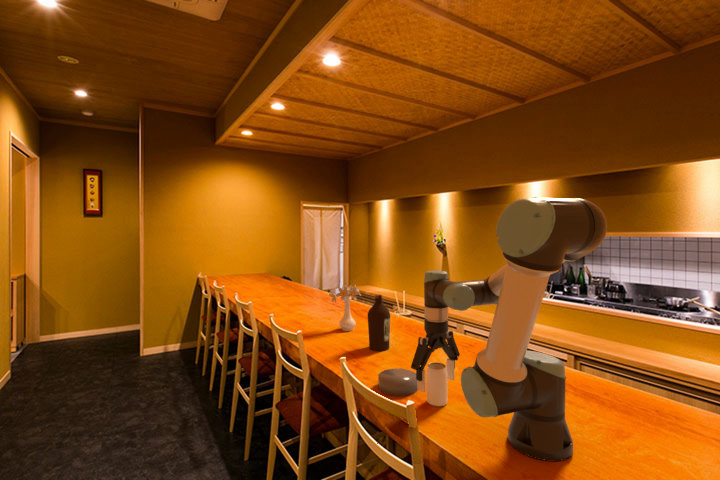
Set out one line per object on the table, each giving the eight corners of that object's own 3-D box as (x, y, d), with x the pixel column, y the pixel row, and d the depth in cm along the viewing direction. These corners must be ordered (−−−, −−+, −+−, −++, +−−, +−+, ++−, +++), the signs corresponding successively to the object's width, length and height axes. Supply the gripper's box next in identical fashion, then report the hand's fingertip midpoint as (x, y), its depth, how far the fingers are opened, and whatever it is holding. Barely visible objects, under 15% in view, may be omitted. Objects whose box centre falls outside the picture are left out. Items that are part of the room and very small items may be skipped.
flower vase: (326, 330, 206) (325, 285, 205) (352, 324, 218) (351, 282, 217) (341, 335, 196) (340, 288, 195) (367, 329, 208) (366, 284, 208)
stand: (418, 397, 124) (418, 385, 124) (376, 394, 126) (376, 383, 126) (418, 380, 138) (418, 369, 138) (380, 378, 140) (380, 367, 140)
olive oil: (364, 350, 173) (363, 296, 172) (372, 343, 182) (372, 292, 182) (386, 352, 169) (385, 297, 168) (393, 345, 178) (392, 293, 177)
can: (432, 408, 116) (432, 370, 116) (423, 399, 123) (423, 363, 122) (451, 405, 118) (450, 368, 118) (441, 396, 124) (441, 361, 124)
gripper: (452, 311, 130) (452, 371, 131) (399, 323, 115) (399, 390, 116) (470, 315, 124) (470, 378, 125) (416, 328, 109) (416, 399, 110)
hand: (436, 384), depth 120 cm, fingers open, 13 cm apart
